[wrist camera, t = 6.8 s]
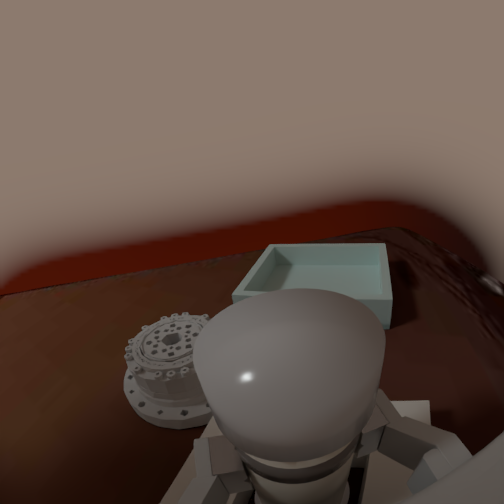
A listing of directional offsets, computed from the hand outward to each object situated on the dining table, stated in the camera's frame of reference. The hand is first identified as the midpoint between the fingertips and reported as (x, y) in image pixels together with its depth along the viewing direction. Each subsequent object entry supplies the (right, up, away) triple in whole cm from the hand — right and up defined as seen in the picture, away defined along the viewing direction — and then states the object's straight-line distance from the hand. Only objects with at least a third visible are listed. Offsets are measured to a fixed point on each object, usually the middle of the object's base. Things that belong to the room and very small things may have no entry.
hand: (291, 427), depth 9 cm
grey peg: (+1, -7, +2) cm, 7 cm away
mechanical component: (-6, -4, +13) cm, 15 cm away
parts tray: (+6, +2, +22) cm, 23 cm away
